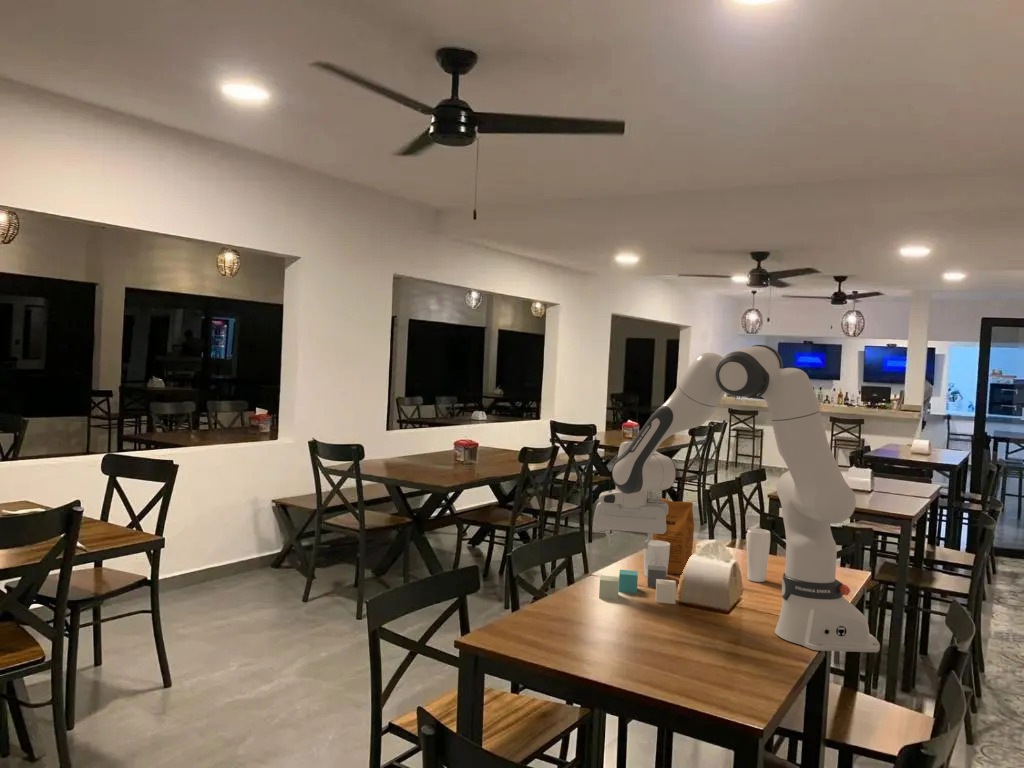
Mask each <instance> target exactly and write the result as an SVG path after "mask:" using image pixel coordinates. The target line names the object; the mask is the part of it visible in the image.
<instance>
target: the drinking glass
mask: <svg viewBox="0 0 1024 768" xmlns="http://www.w3.org/2000/svg"><path fill="white" fill-rule="evenodd" d="M770 548H771V531H770V530H767V529H763V528H748V529H747V530H746V560H747V561H746V564H747V565H746V566H747V568H746V569H747V573H746V575H747V576H746V577H747V579H748V581H750V582H754V583H764V582H765V581H766V580H767V571H768V570H767V568H768V562H769V555H770V550H771V549H770Z"/></svg>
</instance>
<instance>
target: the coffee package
mask: <svg viewBox="0 0 1024 768" xmlns="http://www.w3.org/2000/svg"><path fill="white" fill-rule="evenodd" d="M659 500H663V501H664V502H666V503H667V504H668V506H669V510H668V514H667V516H666V532H665V533H664V534H656V533H653V538H652V540H659V541H665V542H668V543H670V554H669V564H668V569H667V574H670V575H671V574H672V575H681V576H683V575H682V573H683V572H682V571H683V569H684V567H685V565H686V563H687V561H688V559H689V557H690V556H691V555H692V556H693V548H694V547H693V545H694V532H695V521H694V512H693V506H694V504H693V501H673V500H670V499H667V498H663V497H660V499H659ZM663 504H665V503H663Z"/></svg>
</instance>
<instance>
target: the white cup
mask: <svg viewBox="0 0 1024 768" xmlns="http://www.w3.org/2000/svg"><path fill="white" fill-rule="evenodd" d="M669 554H670V543H668V542H665V541H659V540H653V539H651V540H650V542H649V543H648V549H643V568H644V569H643V571H644V572H643V576H645V578H648V565H653V566H665V567H666V578H667V577H668V573H667V569H668V564H669Z"/></svg>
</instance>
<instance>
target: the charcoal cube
mask: <svg viewBox="0 0 1024 768" xmlns="http://www.w3.org/2000/svg"><path fill="white" fill-rule="evenodd" d="M656 579H662V580H667V577H666V567H665V566H653V565H648V577H647V578H646V580H647V581H646V582H647V587H649V588H656Z"/></svg>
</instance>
